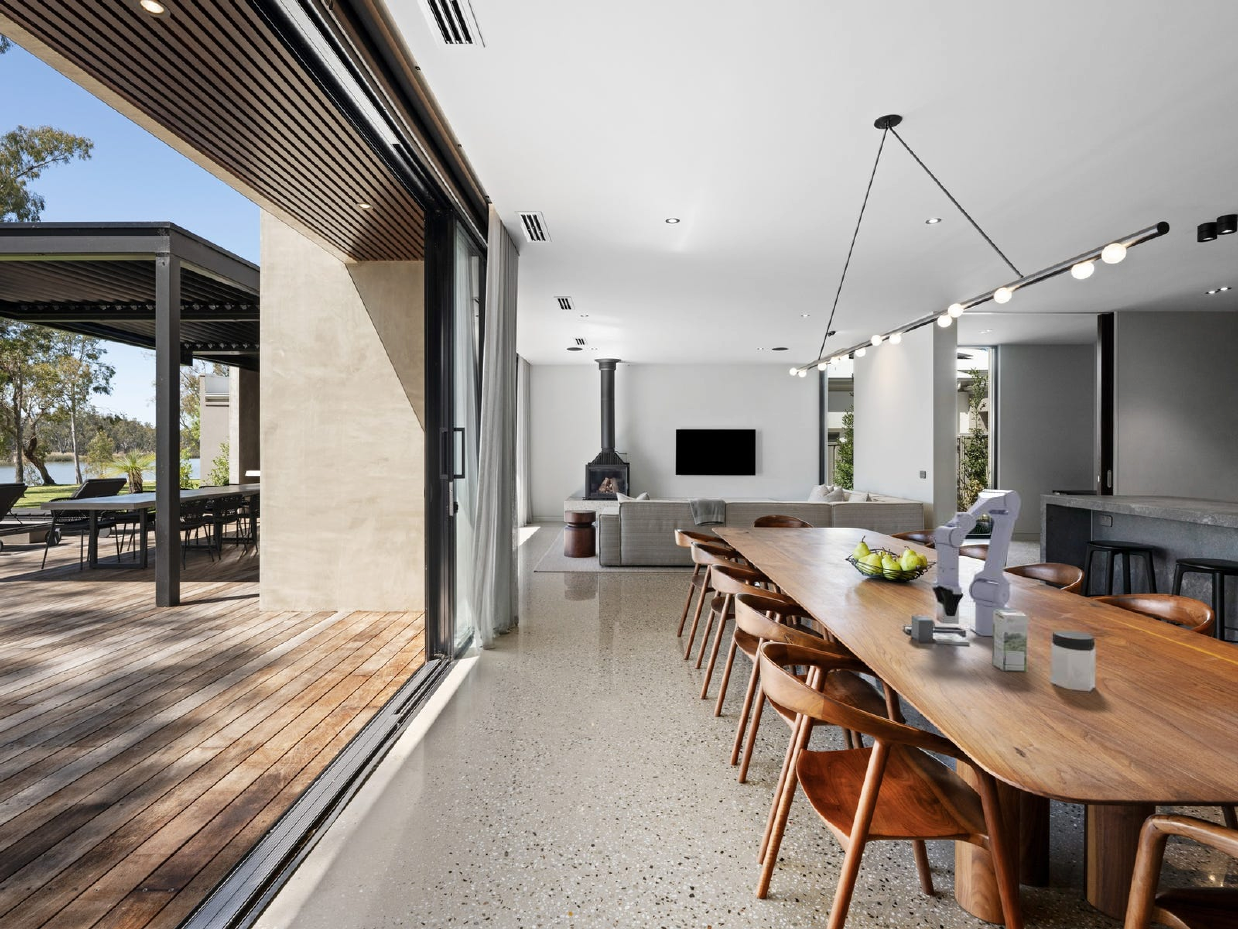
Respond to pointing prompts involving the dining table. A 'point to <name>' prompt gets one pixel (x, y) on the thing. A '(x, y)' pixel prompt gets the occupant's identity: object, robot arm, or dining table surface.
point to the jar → (1073, 660)
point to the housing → (943, 617)
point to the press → (935, 632)
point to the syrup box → (1010, 640)
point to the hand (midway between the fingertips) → (947, 613)
